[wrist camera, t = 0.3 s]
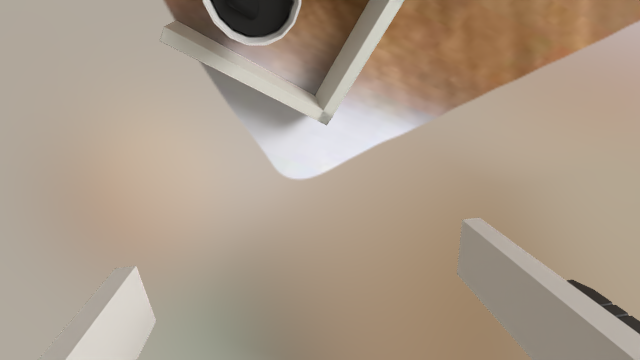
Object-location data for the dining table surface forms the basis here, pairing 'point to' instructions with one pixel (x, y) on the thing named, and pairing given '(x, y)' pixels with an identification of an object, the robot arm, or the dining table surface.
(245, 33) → the white cup
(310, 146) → the dining table surface
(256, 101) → the dining table surface
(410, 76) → the dining table surface
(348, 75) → the u-shaped frame
